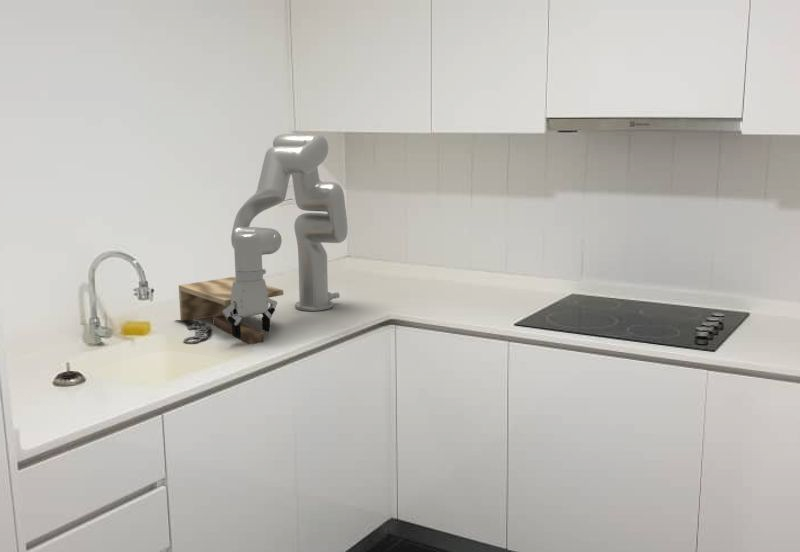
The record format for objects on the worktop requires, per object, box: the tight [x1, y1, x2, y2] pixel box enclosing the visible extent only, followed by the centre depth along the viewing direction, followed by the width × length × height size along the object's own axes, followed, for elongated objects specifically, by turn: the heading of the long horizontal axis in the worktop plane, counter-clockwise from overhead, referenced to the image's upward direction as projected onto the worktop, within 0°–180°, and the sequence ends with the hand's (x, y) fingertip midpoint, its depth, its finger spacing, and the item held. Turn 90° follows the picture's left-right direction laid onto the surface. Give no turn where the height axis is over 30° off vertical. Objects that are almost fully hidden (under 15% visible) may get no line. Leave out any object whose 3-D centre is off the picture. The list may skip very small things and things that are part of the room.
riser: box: [178, 276, 284, 321], centre depth 255 cm, size 20×28×12 cm
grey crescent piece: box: [175, 319, 213, 345], centre depth 248 cm, size 28×2×10 cm
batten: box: [212, 314, 265, 346], centre depth 245 cm, size 3×26×5 cm
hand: (251, 334), depth 236 cm, fingers open, 9 cm apart
